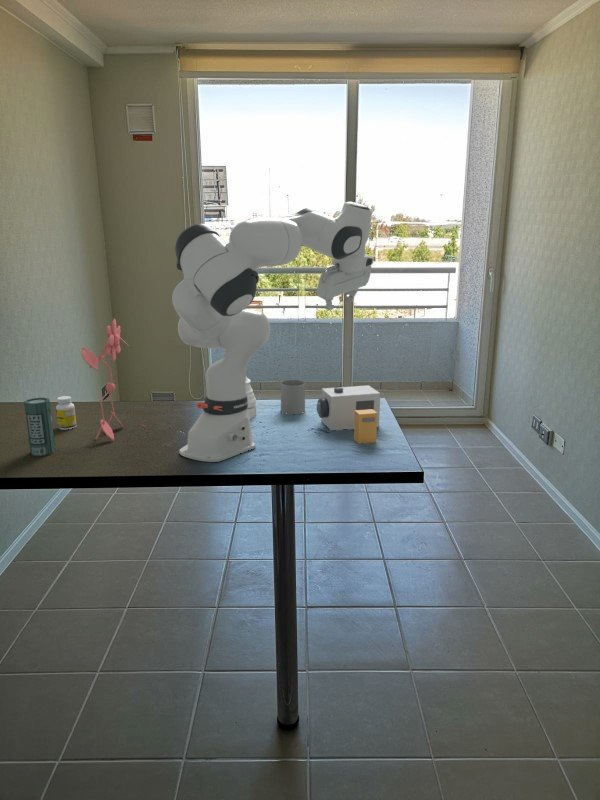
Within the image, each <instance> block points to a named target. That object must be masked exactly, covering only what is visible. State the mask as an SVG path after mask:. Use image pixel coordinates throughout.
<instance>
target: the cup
mask: <svg viewBox="0 0 600 800" xmlns="http://www.w3.org/2000/svg"><path fill="white" fill-rule="evenodd" d="M304 411H305V412H306V381H303V380H299V379H286V380H282V381H281V382H280V413H282V412H283V413H287V414H286V415H288V414H297V415H300V414H299V413H302V412H304ZM305 412H304V413H305ZM283 413H282V414H283ZM302 414H303V413H302Z"/></svg>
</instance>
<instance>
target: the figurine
mask: <svg viewBox="0 0 600 800" xmlns="http://www.w3.org/2000/svg"><path fill="white" fill-rule="evenodd" d="M106 335H107V340H106V343H105V345H104V347H103V349H102V350H101V353H100V354H99V355H98V356H96V355H95V353H94V352H92V351H91V350H90V349H88V348H85V347H82V348H81V357H82V358H83V361H84V362H85V363H86V364H87V365H88V366H89V368H90V369H92V368H93V370H95V371H97V370H98V367H99V360H100V361H101V362H102V363H103V364H104V365H105V366H106V367H107V368H108V370H109V378H110V382H108V383H107V384H106V385H105V391H107V392H106V393H105V394H104V395H103V397H101V399H100V400H99V403H100V408H101V415H102V419H100V421H99V424H100V427H99V430H98V431H97V434H96V436H95V438H94V439H95V440H98V438H99V436H100V434H101V432H104V434H105V435H106V436H107V437H108V438H109V439H110V440H111V441H112V442H114V441H115V434H114V432H113V429H112V427H111V425H110V423H111V421H112V420H113V417H114V418H115V419H116V420H117V421H118V423H119V424H120V425H121V427H122V428H125V425H123V423H121V421H120V420H119V418H118V417H117V416H116V413H115V408H114V404H113V399H112V392H114V391H115V390H116V385H115V384H114V383H113V372H112V369H113V368H112V367H111V365H109V364H108V363H107V362H106V361H105V360H103V358H105V357H109V356H110V359H111V362H112V363H115V361H116V360H117V355H119V354H120V353H121V351H122V349H121V345H120V341H122V342H123V343H124V344H125V345H126V346H127V347H129V346H130V345H129V344H128V343H127V342H126V341H125V340H124V339H123V338H122V337H121V326H120V325H118V326H117V319H116V318H113V320H112V321H111V325H107V326H106ZM103 354H104V355H103ZM108 394H109V398H110V402H111V408H112V410H111V411H110V413H111V415H110V418H109V419H108V422H107V421H106V420H105V415H104V409H103V400H104V398H105V397H106V396H107V395H108ZM139 425H141V426H143V427H145V428H146V429H147V430H149V427H147V426H145V425H144V424H141V423H140V424H139ZM147 435H148V433H146V434H144V436H142V437H140V438H139V439H138V440H140V439H143V438H144V437H146V436H147ZM85 446H87V444H85ZM89 446H92V445H91V444H89Z"/></svg>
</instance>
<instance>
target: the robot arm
mask: <svg viewBox="0 0 600 800" xmlns="http://www.w3.org/2000/svg"><path fill="white" fill-rule="evenodd" d="M371 225H372V211H371V209H370V208H369V206H367V205H365V204H361V203H359V202H354V201H345V202H344V203H343V205H342V208H341V211H340V214H339V215H338V216H337V217H333V216H330V215H327V214H324V213H321V212H319V211H318V210H316V209H314V208H311V207H305V208H303V209H301V210H299V211H298V212H296V213H294V214H289V215H281V216H264V217H263V216H262V217H257V218H251V219H248V220H244V221H241V222H240V223H238V224H236V225H235V226H234V227H233V228H232V230H231V232H230V233H229V240H228V242H227V244H226V242H224V240H223V239H222V238H221V237H220V234H219V232H217V231H216V230H214V228H213V227H211V226H210V225H208V224H205V223H197V224H193V225H190V226H188V227H187V228H185V229H184V230H183V231H181V232H180V234H179V235H178V236H177V239H176V242H175V247H174V252H175V255H176V259H177V260H176V270H179V271H181V272H182V273H183V278H182V280H181V281H180V282H179V283H178V284H177V285H176V286H175V287H174V288H173V291H172V293H171V294H172V296H171V302H172V305H173V307H174V310H175V312H176V314H177V315H178V317H179V318H178V319H179V320H178V322H177V332H178V336H179V338H180V340H181V341H182V342H183V343H184V345H189V346H191V347H195V348H201V349H218V350H219V349H221V350H224V351H225V354H224V357H223V358H221V359H218V360H217V361H215V362H213V363H212V364H210V365H209V366H208V368H207V370H206V372H205V382H206V385H205V386H206V396H205V398H204V402H203V401H198V402H197V403H196V407H197V409H199V410H200V409H201V410H202V413H201V414H200V415H199V417H198V418H197V420H196V421H195V422H194V424H193V425H192V426H191V428H190V429H189V430H188V433H187V444H186V445H183V447H181V448H180V449H179V451H178V453H179V454H180V456H183V457H184V458H188V459H191V460H194V461H199V462H207V463H218V462H221V461H224V460H225V461H226V460H227V459H229V458H232V457H233V458H234V456H237V455H241V454H243V453H246V452H248V450H249V451H252V450H253V449H256V448H255V447H256V443H255V442H254V441H253V432H252V425H251V419H250V418H249V416H248V414H247V410H246V409H247V407H248V400H247V395H246V377H247V370H248V366H249V363H250V361H251V358H252V357H253V356H254V355H255V354H256V352H258V351H259V350H260V349H261V348H263V347H264V346H265V345H266V343H268V341H269V338H270V335H271V325H270V321H269V319H268V317H267V316H266V315H265V313H264V312H261V311H257V310H253V309H248V307H249V306H250V305H251V304H252V303H253V301H254V299H255V295H256V293H257V289H258V288H257V287H258V285H257V284H258V283H259V279H260V278H259V277H260V276H259V273H258V272H257V269H259V268H263V267H266V268H268V267H278V266H284V265H287V264H290V263H291V262H293V261H295V259H296V258H297V257H298V256H299V253H300V252H301V249H302V247H304V248H308V249H310V250H313V251H315V252H317V253H319V254H321V255H323V256H326V257H329V258H331V265H329V266H326V268H325V269H324V271H322V272H321V273H320V277H319V280H318V284H317V287H316V293H315V294H316V295H317V297H319V298H320V299H322V300H324V301H325V303H326V304H325V309H326V310H328V311H332V310H333V309H334V307H335V303H333V300H334V298H336V297H339V296H340V295H343V294H346V293H348V294H347V295H346V298H345V301H346V302H348V303H352V302H354V300H355V297H356V295H357V293H358V292H359V288H363V287H365V286H367V285H368V283H369V281H370V277H371V272H372V265H373V264H374V261H375V258H374V257H372V256H370V255H369V254H366V245H367V241H368V240H369V236H370V230H371ZM251 449H252V450H251ZM240 453H241V454H240Z"/></svg>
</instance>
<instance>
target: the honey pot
mask: <svg viewBox="0 0 600 800" xmlns="http://www.w3.org/2000/svg"><path fill="white" fill-rule="evenodd" d="M251 381H252V380H251V379H250V378H248V377H247V376H246V395H247V400H248V407H247V409H246V410H247V414H248V416H249V418H250V420H251V419H254V418H255V417H256V416H257V398H256V397H255V393H254V392H253V391H254V390H253V388H252V386H251V383H252V382H251Z"/></svg>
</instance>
